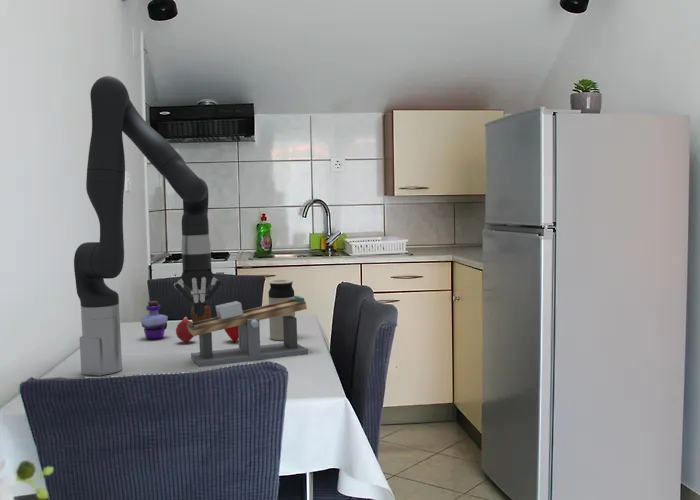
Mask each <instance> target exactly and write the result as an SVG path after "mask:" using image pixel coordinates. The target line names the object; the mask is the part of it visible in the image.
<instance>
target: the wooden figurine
mask: <svg viewBox="0 0 700 500" xmlns="http://www.w3.org/2000/svg"><path fill="white" fill-rule="evenodd" d="M206 293H207V292H205V295H206ZM198 298H199V292H198ZM208 301H209V300H206V301H205V302H204V309H205V312H204V314H202V316H199V317H197V316H196V315H195V314H194V313H193V306H192V307H191V310H190V318H191V322H192V323H193V322H197V321H202V320H206V319H210V318H212V309H211V306H209V304H207V303H208ZM198 302H199V300H198Z"/></svg>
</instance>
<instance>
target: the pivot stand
mask: <svg viewBox="0 0 700 500" xmlns="http://www.w3.org/2000/svg"><path fill="white" fill-rule="evenodd" d="M297 322H298V321H297V317H296V316H295V317H293V316H283V334H284V340H283V342H280V343H273V344H272V343H271V344H262V345H261V334H260V331H261V330H260V328H261V327H260V320H259V319H258V318H254V319H247V324H242V325H238V334H239V338H238V347H234V348H226V349H225V348H224V349H217V350H216V349H215V350H213V339H212V338H213V335H212V333H213V332H209V333H205V334H201V335H198V339H199V343H198V344H199V351H197V352H191V353H190V357H191V359H192V360H193V361H194V362H195V364H196V365H197V366H198V367H199V366H201V367H209V366H216V365H225V363H226V364H235V363H240V362H248V361H249V362H251V361H259V360H265V359H266V360H267V359H275V358H283V357H292V356H299V355H301V356H302V355H308V354H309V353H308V349H307V348H305V347H304V346H302V345H300V344H299V343H298V325H297V324H298V323H297ZM234 362H235V363H234Z"/></svg>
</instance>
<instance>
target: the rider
mask: <svg viewBox="0 0 700 500" xmlns="http://www.w3.org/2000/svg"><path fill="white" fill-rule="evenodd" d="M215 311H216V317H218V320H219V321H224V320H228V319H232V318H236V317H240V316H243V311H244V310H243V306H242V302H240V301H238V300H235V301H230V302H225V303H222V304H217V305H215Z"/></svg>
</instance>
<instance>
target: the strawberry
mask: <svg viewBox="0 0 700 500" xmlns="http://www.w3.org/2000/svg"><path fill="white" fill-rule="evenodd" d="M223 330H224V331H225V333H226V334H227V336H228V338H230V339H231V341H232V342H233V343H236V342H237V341H239V334H238V326H234V327H230V328H226V329H223Z"/></svg>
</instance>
